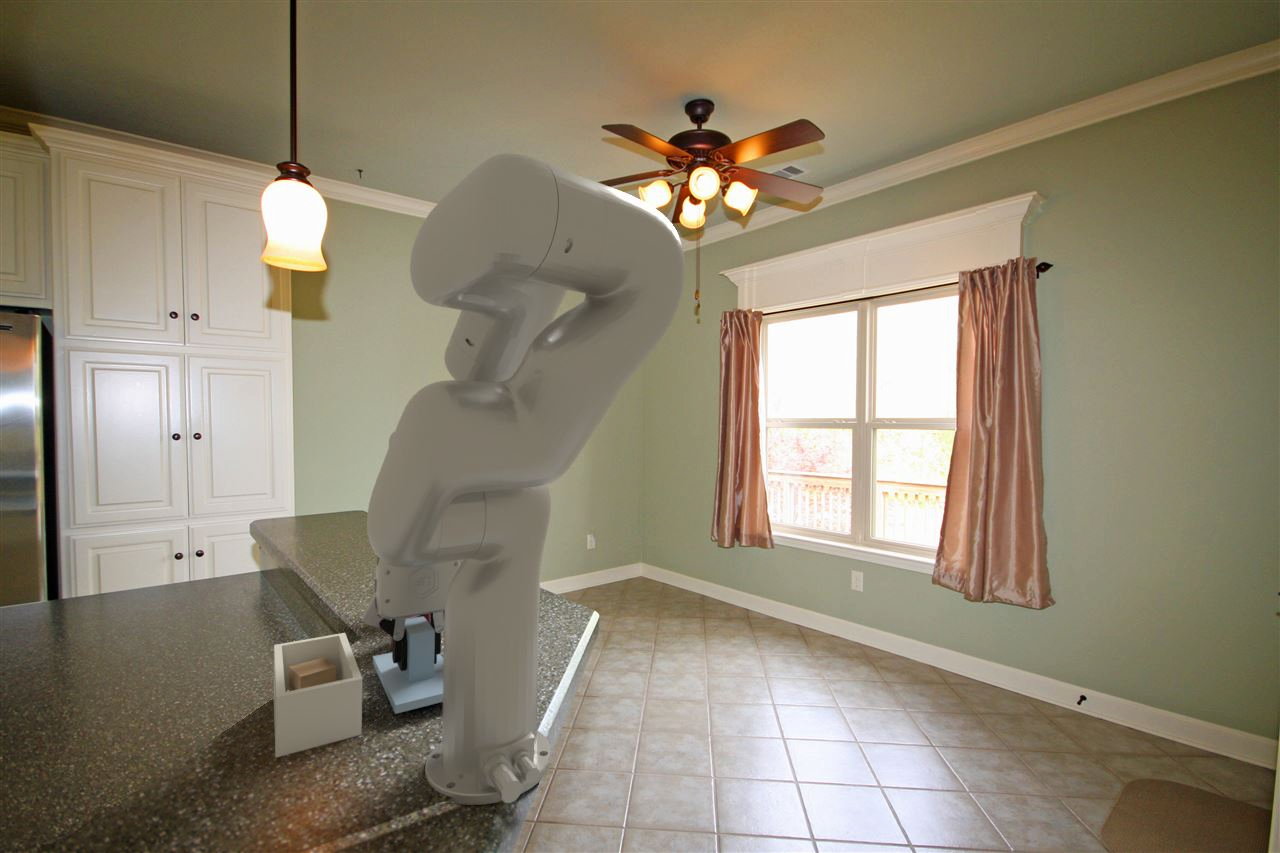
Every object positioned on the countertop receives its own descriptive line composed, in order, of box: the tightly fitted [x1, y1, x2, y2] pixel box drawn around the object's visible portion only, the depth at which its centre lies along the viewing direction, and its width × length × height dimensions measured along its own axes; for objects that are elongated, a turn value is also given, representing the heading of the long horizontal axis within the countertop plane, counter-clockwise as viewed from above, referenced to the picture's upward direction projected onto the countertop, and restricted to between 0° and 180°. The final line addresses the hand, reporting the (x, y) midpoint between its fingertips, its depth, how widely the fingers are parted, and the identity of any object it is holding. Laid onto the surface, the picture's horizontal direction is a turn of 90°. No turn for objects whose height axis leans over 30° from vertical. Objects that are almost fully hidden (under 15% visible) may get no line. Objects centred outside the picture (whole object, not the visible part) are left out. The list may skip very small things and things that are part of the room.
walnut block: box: [289, 657, 336, 691], centre depth 70 cm, size 4×4×4 cm
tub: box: [273, 632, 363, 758], centre depth 66 cm, size 16×8×7 cm, turn 34°
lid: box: [372, 616, 443, 715], centre depth 73 cm, size 16×8×8 cm, turn 34°
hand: (416, 662), depth 73 cm, fingers closed on lid, 3 cm apart
